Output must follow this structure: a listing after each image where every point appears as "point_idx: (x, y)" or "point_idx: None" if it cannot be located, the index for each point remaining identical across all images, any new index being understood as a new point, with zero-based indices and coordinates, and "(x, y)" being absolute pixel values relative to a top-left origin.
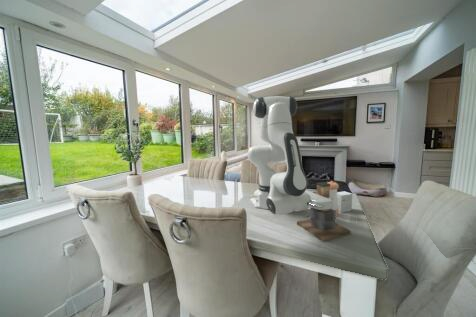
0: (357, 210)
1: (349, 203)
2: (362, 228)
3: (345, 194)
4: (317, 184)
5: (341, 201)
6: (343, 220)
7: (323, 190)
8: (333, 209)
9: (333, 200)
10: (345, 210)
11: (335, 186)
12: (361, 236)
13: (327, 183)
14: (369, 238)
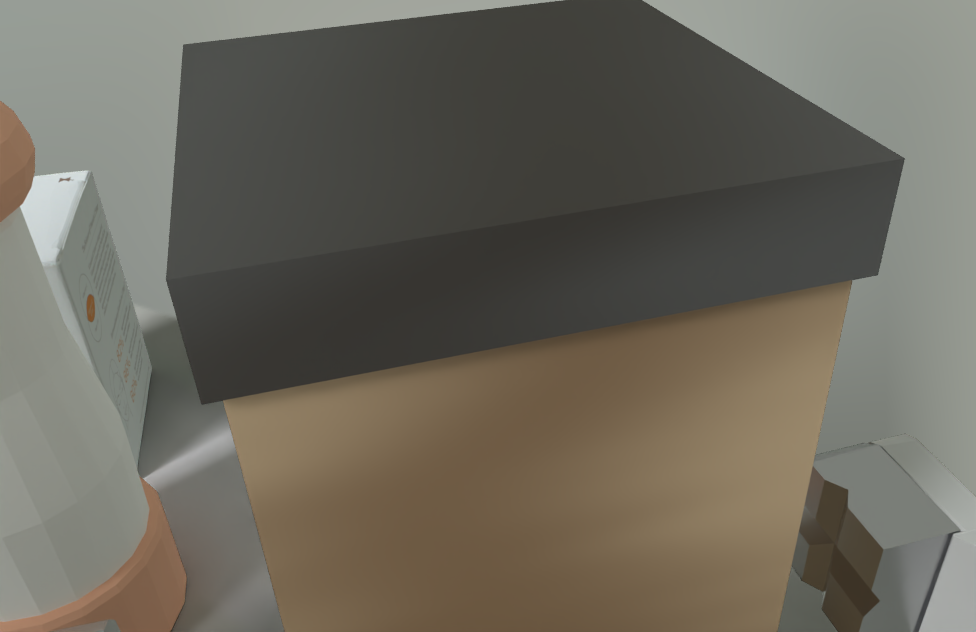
0: (177, 326)
1: (122, 305)
2: None
3: (54, 218)
4: (299, 342)
5: (84, 344)
6: None
7: (801, 450)
8: (134, 539)
9: (78, 416)
10: (138, 414)
11: (5, 142)
12: (796, 597)
13: (493, 17)
14: None
